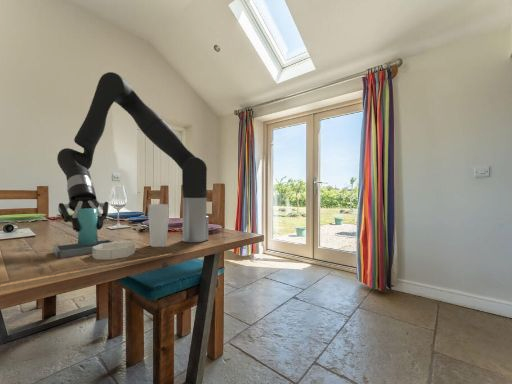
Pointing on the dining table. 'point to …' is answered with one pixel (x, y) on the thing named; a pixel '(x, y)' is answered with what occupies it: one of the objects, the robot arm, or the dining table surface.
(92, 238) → the teal cylinder
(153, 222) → the drinking glass
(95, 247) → the cream bowl
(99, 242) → the parts tray
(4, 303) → the dining table surface
